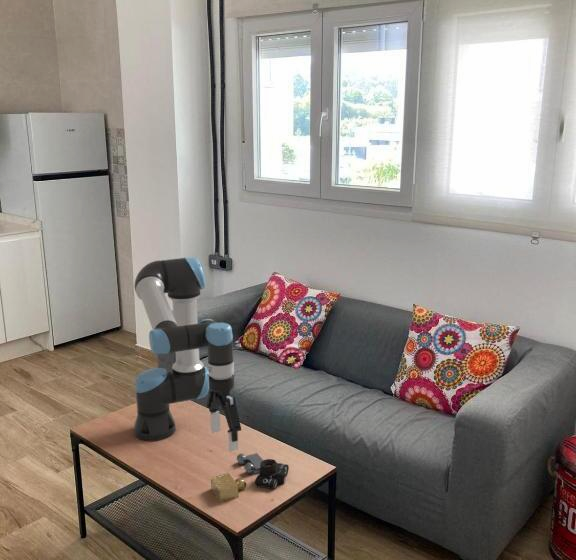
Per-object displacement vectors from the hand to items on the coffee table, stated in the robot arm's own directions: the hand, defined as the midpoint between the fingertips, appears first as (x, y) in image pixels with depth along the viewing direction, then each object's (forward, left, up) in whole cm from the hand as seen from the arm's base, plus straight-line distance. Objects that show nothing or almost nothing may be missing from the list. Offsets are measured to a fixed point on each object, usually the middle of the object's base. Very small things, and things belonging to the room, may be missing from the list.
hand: (224, 440), depth 195 cm
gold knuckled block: (0, +1, -18) cm, 18 cm away
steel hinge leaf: (-10, +13, -18) cm, 24 cm away
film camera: (0, +16, -18) cm, 24 cm away
